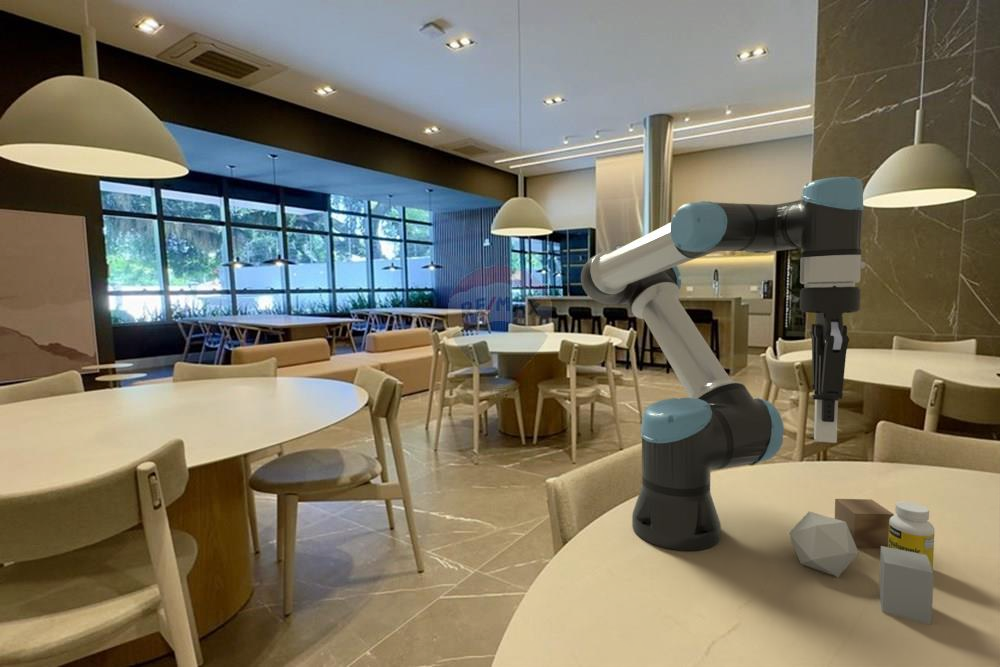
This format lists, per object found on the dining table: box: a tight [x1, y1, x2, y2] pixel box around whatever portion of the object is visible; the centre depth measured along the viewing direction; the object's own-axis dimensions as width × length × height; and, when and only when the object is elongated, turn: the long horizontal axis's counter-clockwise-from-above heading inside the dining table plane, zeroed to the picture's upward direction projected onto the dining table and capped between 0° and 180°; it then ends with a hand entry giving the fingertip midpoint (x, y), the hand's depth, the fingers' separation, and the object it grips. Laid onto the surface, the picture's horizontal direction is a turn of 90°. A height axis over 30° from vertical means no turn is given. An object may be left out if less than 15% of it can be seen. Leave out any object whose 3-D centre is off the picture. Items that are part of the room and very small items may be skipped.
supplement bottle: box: [888, 500, 935, 571], centre depth 77 cm, size 5×5×10 cm
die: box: [788, 511, 859, 578], centre depth 78 cm, size 8×9×10 cm
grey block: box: [878, 546, 934, 625], centre depth 68 cm, size 5×5×7 cm
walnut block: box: [834, 498, 895, 550], centre depth 86 cm, size 6×6×6 cm
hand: (825, 440), depth 77 cm, fingers closed
